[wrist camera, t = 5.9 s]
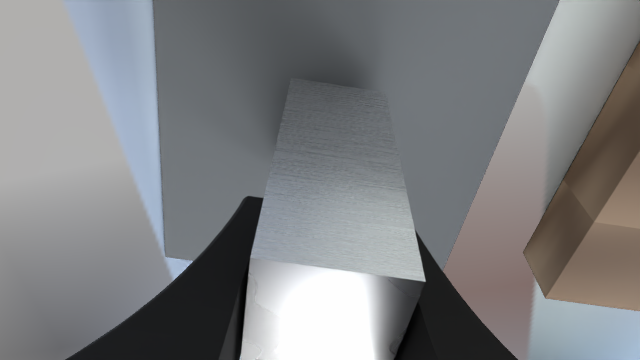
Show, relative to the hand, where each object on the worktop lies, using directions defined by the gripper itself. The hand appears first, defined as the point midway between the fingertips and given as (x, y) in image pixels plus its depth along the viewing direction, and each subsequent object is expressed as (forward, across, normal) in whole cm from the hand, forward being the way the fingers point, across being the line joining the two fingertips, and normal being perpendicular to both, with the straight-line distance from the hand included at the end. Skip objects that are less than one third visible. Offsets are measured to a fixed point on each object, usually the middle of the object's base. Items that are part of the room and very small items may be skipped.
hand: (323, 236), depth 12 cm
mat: (+5, 0, 0) cm, 5 cm away
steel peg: (+4, 0, 0) cm, 5 cm away
